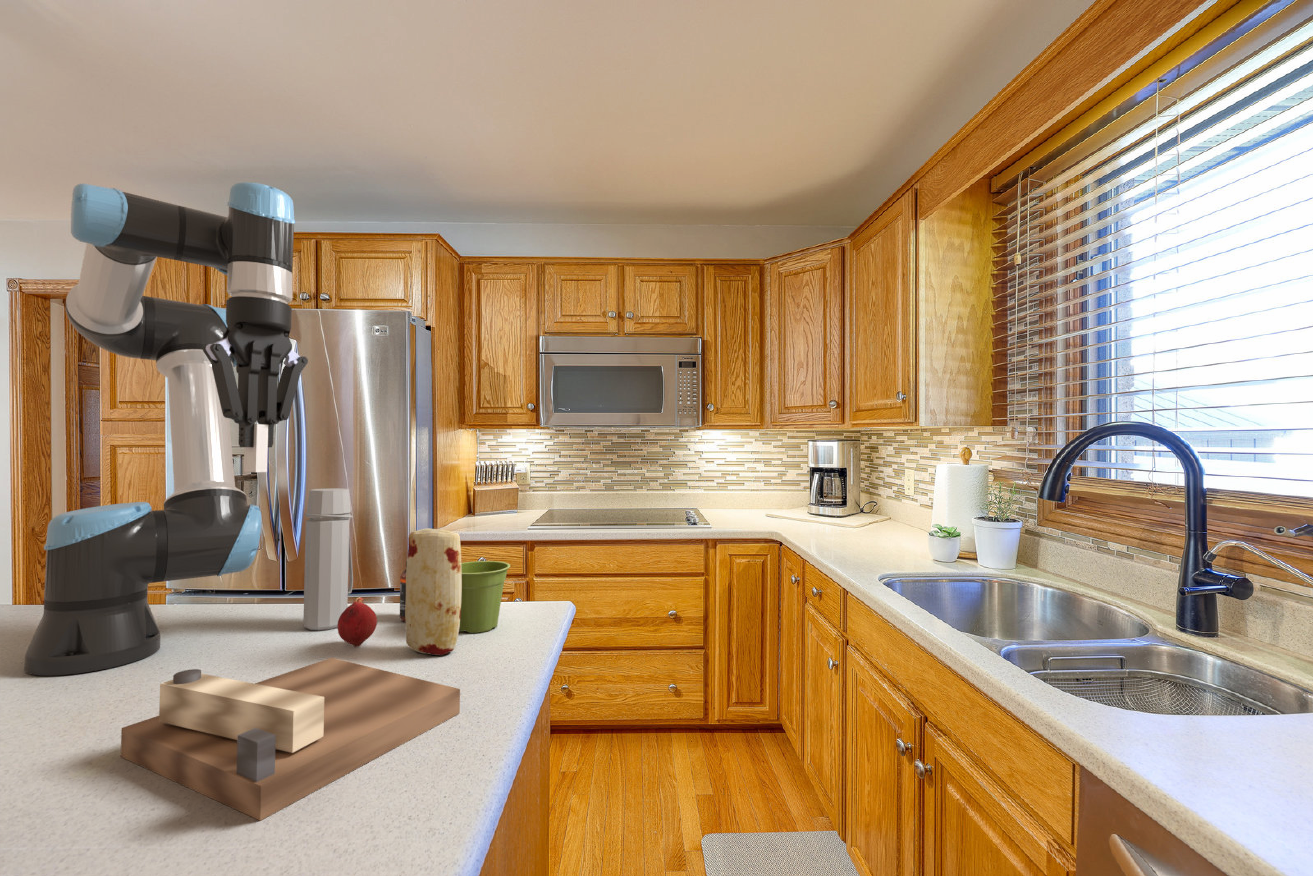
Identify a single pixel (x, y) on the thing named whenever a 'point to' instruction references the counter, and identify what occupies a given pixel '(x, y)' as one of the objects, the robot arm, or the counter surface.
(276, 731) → the folding leg
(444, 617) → the food model
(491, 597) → the plant pot
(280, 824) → the counter surface
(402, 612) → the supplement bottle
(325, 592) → the water bottle
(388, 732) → the brown flat square block
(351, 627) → the onion
